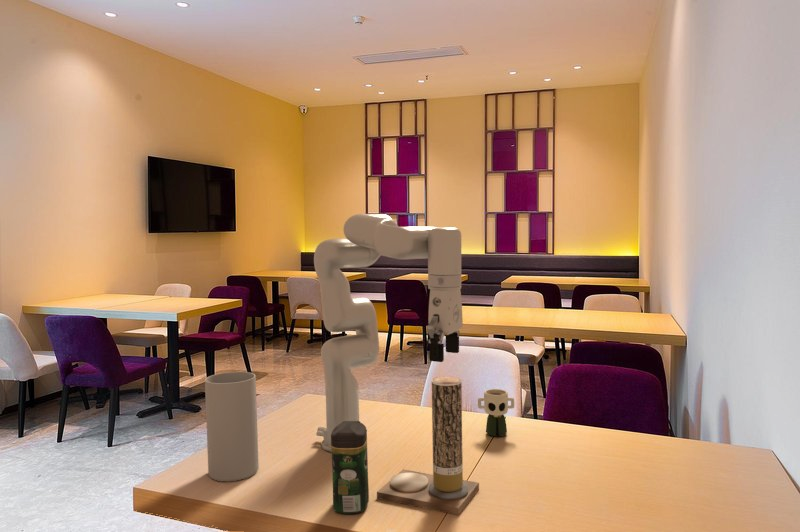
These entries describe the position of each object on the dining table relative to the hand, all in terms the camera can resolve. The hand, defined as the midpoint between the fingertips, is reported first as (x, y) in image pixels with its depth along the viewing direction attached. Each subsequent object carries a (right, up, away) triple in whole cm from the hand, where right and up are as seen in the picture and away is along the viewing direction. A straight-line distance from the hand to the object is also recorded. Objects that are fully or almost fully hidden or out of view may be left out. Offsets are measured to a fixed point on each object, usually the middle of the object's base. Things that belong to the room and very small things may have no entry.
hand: (444, 356), depth 132 cm
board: (-4, -33, +3) cm, 33 cm away
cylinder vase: (-53, -33, +18) cm, 65 cm away
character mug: (+19, -30, +42) cm, 56 cm away
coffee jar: (-21, -34, -2) cm, 40 cm away
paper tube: (+1, -31, +1) cm, 31 cm away
